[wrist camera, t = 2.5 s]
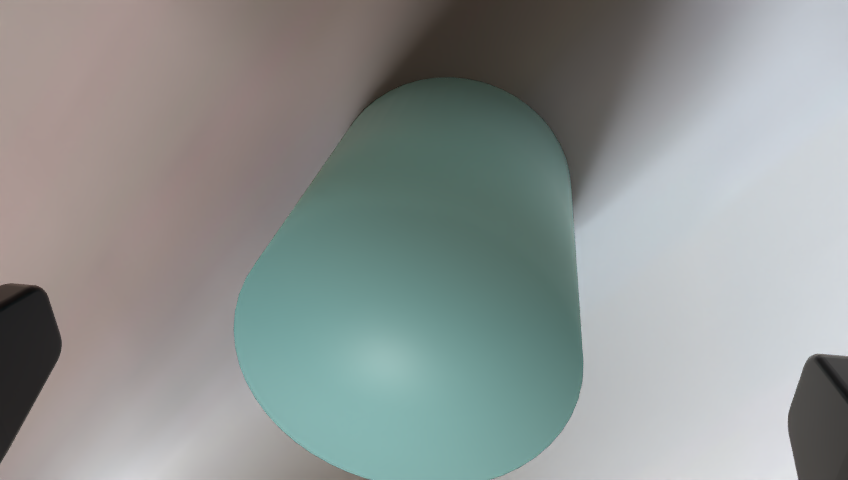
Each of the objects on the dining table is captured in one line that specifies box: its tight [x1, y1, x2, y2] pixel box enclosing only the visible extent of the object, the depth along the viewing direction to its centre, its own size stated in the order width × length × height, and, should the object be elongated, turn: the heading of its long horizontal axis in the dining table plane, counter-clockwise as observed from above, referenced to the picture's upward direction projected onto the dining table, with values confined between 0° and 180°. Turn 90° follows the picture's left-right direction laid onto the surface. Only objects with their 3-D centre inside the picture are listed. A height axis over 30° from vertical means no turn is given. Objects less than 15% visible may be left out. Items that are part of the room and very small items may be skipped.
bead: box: [234, 77, 583, 480], centre depth 10 cm, size 4×4×4 cm
